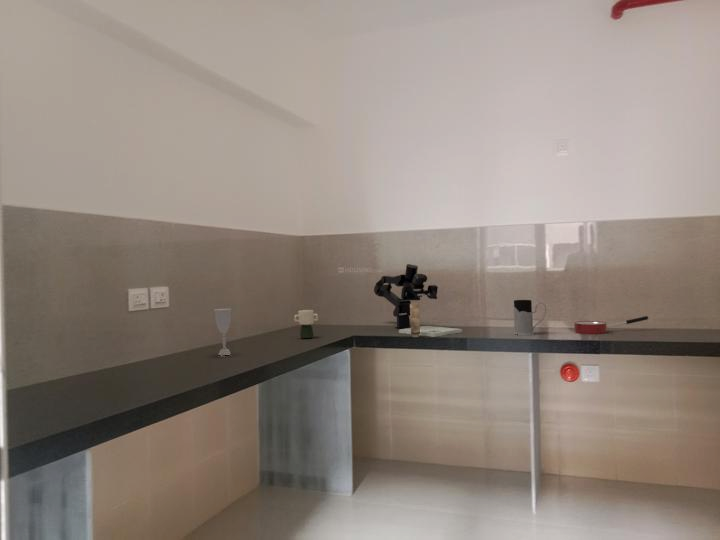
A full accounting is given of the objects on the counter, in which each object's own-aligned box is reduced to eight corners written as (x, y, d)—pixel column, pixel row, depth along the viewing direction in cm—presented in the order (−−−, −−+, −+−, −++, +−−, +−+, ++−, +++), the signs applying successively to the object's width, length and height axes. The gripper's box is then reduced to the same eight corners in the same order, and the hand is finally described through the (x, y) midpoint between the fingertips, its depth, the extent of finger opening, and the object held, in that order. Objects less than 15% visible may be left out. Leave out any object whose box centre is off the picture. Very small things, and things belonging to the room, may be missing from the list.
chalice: (217, 354, 211) (215, 308, 211) (234, 353, 212) (233, 308, 212) (214, 357, 204) (212, 310, 204) (232, 356, 205) (230, 309, 204)
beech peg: (409, 336, 241) (408, 303, 241) (415, 335, 243) (414, 303, 243) (415, 337, 237) (414, 304, 237) (422, 336, 240) (420, 303, 240)
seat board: (399, 332, 256) (398, 329, 256) (426, 328, 267) (426, 325, 267) (433, 336, 238) (433, 333, 238) (462, 332, 249) (461, 329, 249)
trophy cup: (318, 336, 252) (317, 309, 252) (319, 338, 245) (318, 310, 245) (294, 337, 251) (293, 310, 251) (295, 340, 244) (294, 311, 244)
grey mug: (512, 332, 241) (511, 299, 241) (545, 332, 238) (544, 299, 238) (514, 335, 233) (513, 301, 232) (548, 335, 230) (547, 300, 230)
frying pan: (635, 328, 244) (634, 314, 244) (653, 331, 231) (653, 316, 231) (569, 331, 240) (568, 317, 240) (584, 335, 227) (583, 320, 227)
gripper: (397, 272, 257) (413, 283, 244) (430, 271, 265) (447, 281, 252) (395, 294, 261) (410, 306, 247) (427, 292, 268) (444, 303, 255)
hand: (428, 298), depth 250 cm, fingers open, 9 cm apart
